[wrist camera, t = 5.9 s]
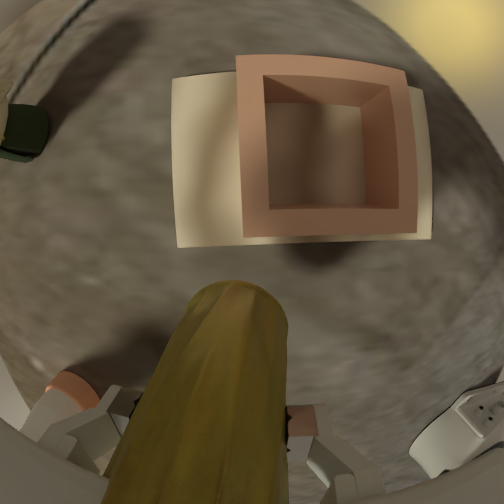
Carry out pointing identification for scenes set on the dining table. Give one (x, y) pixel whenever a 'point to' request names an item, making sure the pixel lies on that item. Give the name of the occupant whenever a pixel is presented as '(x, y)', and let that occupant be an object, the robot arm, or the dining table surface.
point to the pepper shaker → (59, 403)
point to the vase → (211, 408)
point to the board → (274, 162)
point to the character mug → (20, 127)
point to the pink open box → (374, 140)
